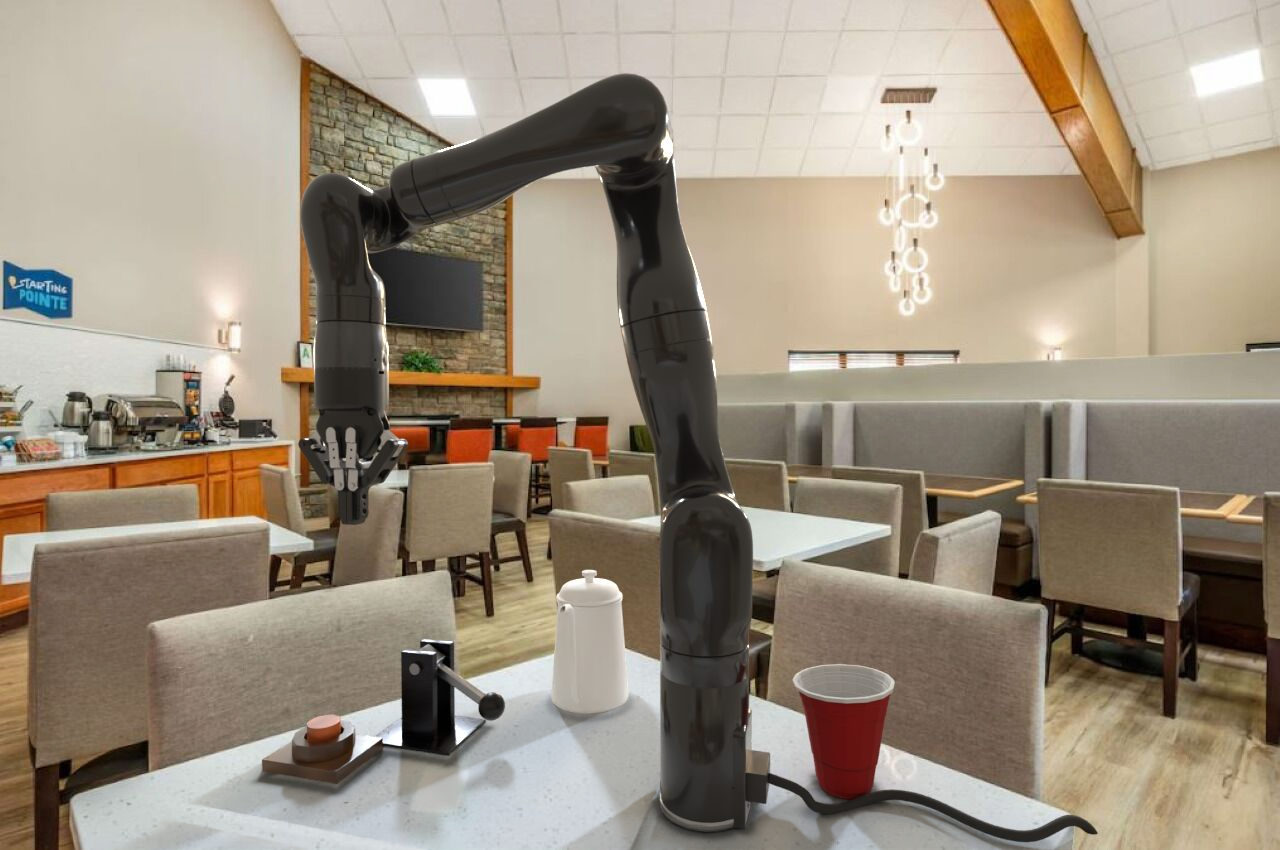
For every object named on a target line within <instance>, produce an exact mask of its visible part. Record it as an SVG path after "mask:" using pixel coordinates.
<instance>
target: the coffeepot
mask: <svg viewBox="0 0 1280 850" xmlns="http://www.w3.org/2000/svg"><path fill="white" fill-rule="evenodd" d="M597 574H598V571H597V570H594V569H584V570H582V571H581V576H582V578H576V579H572V580H569V581H567V582H565V583H564V584H563V585H562V586H561V588H560V590H559V592H557V594H556V596H555V597H556V600H555V601H556V603H557V608H556V622H555V623H556V625H555V637H554V638H555V639H554V650H553V651H554V652H553V666H552V679H551V680H552V682H551V701H552V704H553V705H554V706H556V707H557V708H559V709H561V710H563V711H566V712H571V713H575V714H597V713H604V712H608V711H612V710H615V709H617V708H619V707H621V706H623V705H624V704H625V703H626V702H627V701H628V699H629V683H628V681H629V680H628V669H627V658H626V645H625V644H626V643H625V632H624V631H625V630H624V619H623V618H624V617H623V605H622V601H623V595H624V594H623V592H622V591H620V589H619V586H618V585H617V584H616V583H615V582H613V581H612V580H609V579H605V578H600V577H596V576H597Z"/></svg>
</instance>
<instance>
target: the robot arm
mask: <svg viewBox="0 0 1280 850" xmlns="http://www.w3.org/2000/svg"><path fill="white" fill-rule="evenodd" d="M672 126H673V125H672V122H671V116H670V111H669V107H668V105H667V102H666V99H665V96H664V95H663V94H662V92H661V90H660V89H659V87H657V86H656V84H655V83H653V82H652V81H651V80H649V78H646V77H645V76H642V75H639V74H637V73H631V72H630V73H628V72H624V73H617V74H613V75H610V76H607V77H605V78H602V79H600V80H598V81H595V82H592V83H591V84H589V85H587V86H585V87H583V88H581V89H579V90H577V91H575V92H574V93H572V94H570V95H568V96H566V97H564V98H562V99H561V100H559V101H557V102H555V103H552V104H551V105H549V106H547V107H544V108H542V109H540V110H539V111H536V112H534V113H532V114H530V115H528V116H526V117H524V118H522V119H519V120H518V121H516V122H513V123H511V124H509V125H507V126H505V127H502V128H500V129H498V130H495V131H493V132H491V133H488V134H485V135H482V136H480V137H477V138H475V139H473V140H469V141H467V142H464V143H461V144H458V145H454V146H451V147H447V148H444V149H441V150H438V151H435V152H434V151H433V152H431V153H428V154H425V155H421V156H418V157H416V158H413V159H410V160H409V159H408V160H407V161H404V162H402V163H400V164H398V165H396V166H395V167H394V168H393V169H392V170H391V172H390V174H389V178H388V184H386V185H385V186H383V187H380V188H375V189H370V188H368V187H366V186H364V185H362V184H361V183H359V182H358V181H356V180H355V179H354V178H353V179H352V178H351V177H349V176H347V175H345V174H342V173H337V172H325V173H322V174H319V175H317V176H316V177H315V178H313V179H312V180H311V181H310V182H309V183H308V185H307V186H306V188H305V190H304V192H303V194H302V198H301V202H300V208H299V209H300V210H299V217H300V228H301V232H302V236H303V242H304V245H305V249H306V253H307V258H308V262H309V265H310V269H311V272H312V274H313V278H314V282H315V322H316V323H315V332H314V333H315V334H314V340H313V380H314V381H313V385H314V388H313V389H314V390H313V391H314V392H313V393H314V406H315V408H316V409H317V410H318V413H319V414H318V417H317V418H318V419H317V421H316V423H315V431H314V432H313V433H312V434H311V435H310V436H309V437H308V438H301V439H299V440H298V443H297V444H298V448H299V449H300V451H301V452H302V454H303V456H304V457H305V458H306V460H307V461H308V463H309V464H310V466H311V467H312V469H313V471H314V472H315V474H316V475H317V477H318V478H319V480H320V482H321V483H323V484H324V485H330V486H333V487H334V488H335V490H337V514H338V518H339V520H340V522H341V524H342V525H344V526H346V525H347V526H356V525H361V524H364V523H365V522H366V519H367V518H368V517H369V511H370V509H369V508H370V507H369V504H370V503H369V491H370V489H371V487H374V486H376V485H379V484H384V482H385V481H386V480H387V479H388V477H389V476H390V474H391V473H392V471H393V470H394V468H395V467H396V465H397V464H398V462H399V461H400V459H401V458H402V457H403V455H404V453H405V452H406V450H407V449H408V447H409V442H408V440H407V439H405V438H399V437H397V436H396V435H395V434H394V433H393V432H392V431H391V430H390V429H391V423H390V421H389V419H388V417H387V411H388V410H387V409H388V407H389V406H390V382H389V379H390V378H389V376H390V375H389V373H390V372H389V370H390V369H389V343H388V335H387V327H386V325H387V324H386V323H387V322H386V321H387V320H386V319H387V318H386V317H387V315H386V313H387V312H386V311H387V310H386V308H387V307H386V290H385V289H386V288H385V284H384V281H383V279H382V278H381V276H380V275H379V274H378V273H377V272H376V271H375V270H374V269H373V268H372V266H371V264H370V261H369V255H368V254H376V253H382V252H386V251H388V250H390V249H393V248H395V247H397V246H399V245H401V244H403V243H405V242H407V241H408V240H410V239H412V238H415V236H418V235H419V234H420V233H422V232H424V231H425V230H426V229H429V228H434V227H438V226H441V225H445V224H448V223H452V222H455V221H458V220H461V219H466V218H468V217H472V216H474V215H478V214H480V213H483V212H486V211H487V210H490V209H491V208H493V207H495V206H497V205H499V204H500V203H502V202H505V200H507V199H509V198H510V197H512V196H513V195H515V194H516V193H518V192H519V191H520V190H522V189H525V188H526V187H528V186H530V185H531V184H533V183H535V182H537V181H539V180H542V179H545V178H547V177H549V176H552V175H555V174H559V173H562V172H566V171H571V170H577V169H584V168H591V167H594V168H595V170H596V172H597V175H598V177H599V180H600V183H601V186H602V189H603V192H604V195H605V199H606V202H607V206H608V210H609V213H610V217H611V221H612V226H613V230H614V236H615V242H616V300H617V301H616V303H617V313H618V320H619V328H620V334H621V337H622V343H623V348H624V353H625V358H626V363H627V368H628V373H629V375H630V379H631V382H632V386H633V390H634V392H635V396H636V399H637V402H638V405H639V409H640V411H641V412H640V413H641V415H642V417H643V420H644V422H645V426H646V428H647V431H648V434H649V436H650V441H651V444H652V448H653V453H654V458H655V465H656V472H657V474H656V475H657V483H658V493H659V495H658V496H659V507H660V522H659V524H660V525H659V669H660V670H659V671H660V672H659V679H660V680H659V706H660V707H659V723H660V724H659V726H660V727H659V728H660V729H659V735H660V737H659V739H660V740H659V741H660V742H659V743H660V745H659V746H660V748H659V752H660V753H659V755H660V756H659V758H660V760H659V761H660V762H659V766H660V767H659V768H660V780H659V808H660V811H661V813H662V814H663V816H665V818H666V819H668V820H669V821H670V822H672V823H673V824H675V825H677V826H680V827H682V828H684V829H688V830H692V831H697V832H710V833H711V832H721V831H726V830H729V829H733V828H737V829H745V828H747V824H748V823H747V821H748V818H749V815H750V810H751V803H756V804H762V805H767V801H768V795H769V788H770V785H772V786H775V787H777V788H780V789H782V790H786V791H788V792H791V793H793V794H795V795H796V796H798V797H800V798H801V800H802V801H803V802H804V804H805V805H806V807H807V808H809V810H811V811H812V812H814V813H816V814H821V815H836V814H841V813H844V812H848V811H852V810H855V809H859V808H862V807H866V806H869V805H871V804H875V803H879V802H884V801H902V802H909V803H913V804H916V805H921V806H924V807H926V808H929V809H931V810H934V811H936V812H939V813H941V814H943V815H945V816H947V817H949V818H951V819H953V820H955V821H956V822H959V823H961V824H962V825H965V826H968V827H970V828H971V829H974V830H975V831H978V832H981V833H983V834H986V835H989V836H991V837H994V838H997V839H1002V840H1006V841H1011V842H1017V843H1033V842H1034V843H1035V842H1039V841H1041V840H1045V839H1047V838H1050V837H1052V836H1054V835H1056V834H1057V833H1059V832H1061V831H1063V830H1065V829H1067V828H1070V827H1076V828H1079V829H1080V830H1082V831H1083V832H1084V833H1085V834H1087V835H1094V836H1095V835H1098V834H1099V831H1097V829H1096V828H1095V827H1094V826H1093V824H1092V823H1090V822H1089V821H1088V819H1087V820H1086V819H1085V818H1083V817H1081V816H1079V815H1075V814H1065V815H1061V816H1059V817H1057V818H1055V819H1053V820H1051V821H1049V822H1047V823H1046V824H1043V825H1041V826H1039V827H1036V828H1032V829H1025V830H1023V829H1012V828H1007V827H1002V826H999V825H995V824H992V823H989V822H987V821H984V820H981V819H980V818H977V817H974V816H972V815H970V814H967V813H966V812H964V811H962V810H959V809H957V808H956V807H954V806H952V805H949V804H947V803H945V802H943V801H941V800H938V799H936V798H933V797H930V796H928V795H926V794H922V793H919V792H914V791H909V790H904V789H881V790H880V789H879V790H875V791H871V793H868V794H865V795H862V796H859V797H857V798H854V799H848V800H846V801H843V802H838V803H824V802H821V801H817V800H815V798H814V797H813V795H812V794H811V792H809V790H808V789H806V788H805V787H803V786H802V785H800V784H798V783H797V782H795V781H793V780H790V779H789V778H785V777H782V776H779V775H776V774H774V773H771V752H769V751H762V750H761V751H760V750H753V741H752V740H753V734H752V733H753V715H752V714H753V710H752V708H751V707H750V629H751V628H750V627H751V622H752V619H753V617H752V616H753V588H754V587H753V585H754V584H753V583H754V539H753V530H752V525H751V523H750V520H749V517H748V516H747V514H746V512H745V511H744V510H743V508H742V507H741V505H740V504H739V501H738V499H737V497H736V494H735V491H734V488H733V485H732V483H731V478H730V475H729V472H728V468H727V465H726V460H725V456H724V453H723V449H722V444H721V440H720V432H719V417H718V416H719V415H718V413H719V411H718V409H719V408H718V381H717V367H716V357H715V350H714V342H713V337H712V332H711V328H710V326H711V325H710V321H709V316H708V312H707V306H706V302H705V298H704V293H703V290H702V285H701V282H700V278H699V276H698V271H697V267H696V265H695V262H694V259H693V256H692V254H691V251H690V248H689V246H688V245H689V244H688V242H687V239H686V236H685V233H684V229H683V225H682V220H681V219H682V218H681V214H680V207H679V198H678V197H679V196H678V190H677V177H676V163H675V162H676V161H675V138H674V131H673V127H672ZM378 451H379V452H378ZM377 452H378V453H377ZM344 459H345V460H344Z"/></svg>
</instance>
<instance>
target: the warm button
mask: <svg viewBox="0 0 1280 850" xmlns="http://www.w3.org/2000/svg"><path fill="white" fill-rule="evenodd" d="M341 721H342V718H341V716H339V715H338V714H324V715H319V716H316V717H313V718H312V719H310V720H308V722H307V723H306V726H307V741H311V742H321V741H327V740H330V739H333V738H336V737H337V736H339V735H340V734H341Z"/></svg>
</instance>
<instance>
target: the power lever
mask: <svg viewBox="0 0 1280 850" xmlns="http://www.w3.org/2000/svg"><path fill="white" fill-rule="evenodd" d="M417 650H418V651H428V652H437V675H438V676H440V677H441V678H443V679H444V680H445V681H447V682H448V683H450V684H451V685H452V686H454V689H456V690H458V691H459V692H460V693H462V694H463V695H464V696H466V697H467V698H469V700H471V701H472V702H475V703H476V704H477V705H478V706H477V707H478V714H479V715H480V717H481V719H485V720H486V721H497V720H498V719H499V718H500V717H502V716H503V714H504V712H505V709H506V702H505V699H504V697H503V696H502V695H501V693H498V692H495V691H494V692H492V691H491V692H487V693H485V692H483V691H482V690H480V689H479V688H477V687H476V686H474V685H473V684H472V683H470V681H468V680H466V679H465V678H463V677H462V676H461V675H459V674H458V673H456V672H455V670H454V671H452V670H451V669H450V668H448V667H447V666H445V665H444V664H443V663H442V662H443V660H444V658H445V655H443V654H442V653H441V652H439V651H438V650H436V649H435V648H434V647H432V646H431V645H429V644H428V645H426V646H424V647H422V648H421V649H420V648H419V649H417Z"/></svg>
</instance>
